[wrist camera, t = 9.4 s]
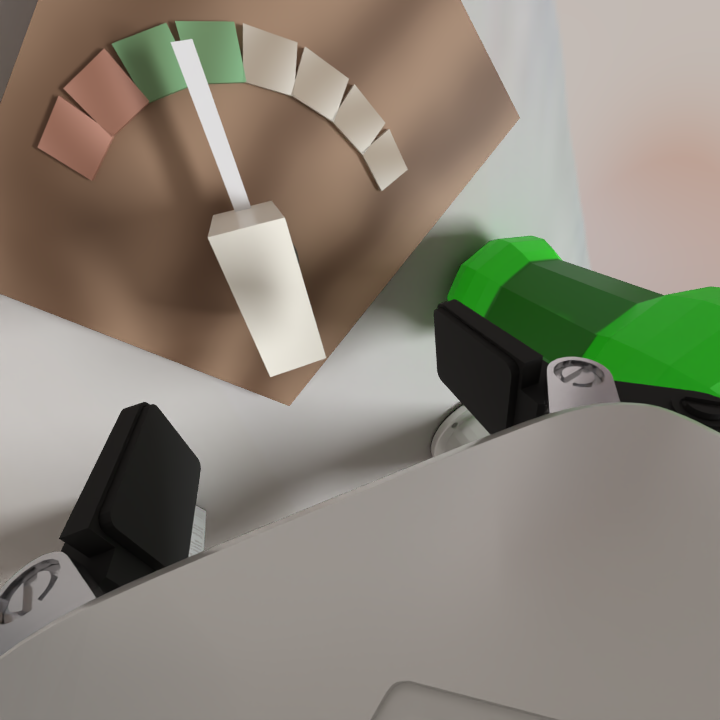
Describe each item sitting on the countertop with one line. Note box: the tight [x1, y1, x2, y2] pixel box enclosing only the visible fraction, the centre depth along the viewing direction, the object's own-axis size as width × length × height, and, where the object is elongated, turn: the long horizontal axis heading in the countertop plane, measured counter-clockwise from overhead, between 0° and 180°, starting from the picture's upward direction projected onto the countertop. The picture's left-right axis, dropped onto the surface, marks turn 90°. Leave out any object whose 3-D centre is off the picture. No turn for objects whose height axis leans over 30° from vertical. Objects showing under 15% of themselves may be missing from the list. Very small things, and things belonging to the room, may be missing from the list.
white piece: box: [171, 39, 326, 377], centre depth 15 cm, size 3×13×7 cm, turn 10°
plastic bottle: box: [447, 236, 720, 398], centre depth 19 cm, size 10×10×25 cm
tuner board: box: [0, 0, 520, 406], centre depth 19 cm, size 20×26×3 cm
